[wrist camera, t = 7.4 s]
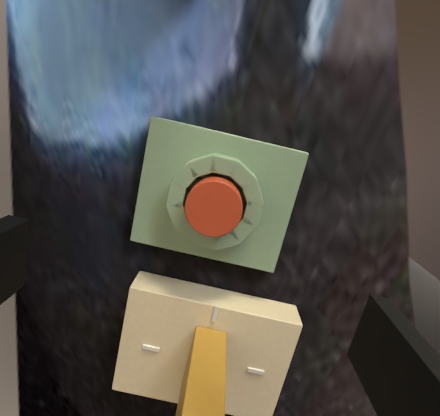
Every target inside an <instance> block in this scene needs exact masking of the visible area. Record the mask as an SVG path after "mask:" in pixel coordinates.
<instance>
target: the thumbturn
mask: <svg viewBox="0 0 440 416" xmlns="http://www.w3.org/2000/svg"><path fill="white" fill-rule="evenodd" d="M226 345H227V333H226V332H223V331H218V330H214V329H210V328H205V327H201V326H196V329H195V333H194V337H193V341H192V345H191V349H190V353H189V357H188V361H187V365H186V369H185V373H184V376H183V380H182V384H181V389H180V395H179V400H178V405H177V411H176V416H225V393H226Z"/></svg>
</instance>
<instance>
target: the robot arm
mask: <svg viewBox="0 0 440 416" xmlns="http://www.w3.org/2000/svg"><path fill="white" fill-rule="evenodd" d="M28 229H29V219H24V218H20V217H15V216H11V215H8V216H5V217H3V218H1V219H0V305H1V304H2V303H3V302H4V301H6V300H7V299H8V298H9V297H11V296H12V295H13V294H14V293H15V292H17V291H18V290H19V289H20V288H22V287H23V286H24V282H25V269H26V255H27V242H28ZM347 355H348V357H349V359H350V361H351V363H352V365H353V367H354V369H355V371H356V373H357V375H358V377H359V379H360V381H361V383H362V385H363V387H364V390H365V392H366V394H367V396H368V398H369V400H370V402H371V404H372V406H373V408H374V410H375V412H376V414H377V416H440V355H439V354H438V353H437V352H436V351H435V350H434V349H433V347H432V346H431V345H430V344H429V343H428V342H427V341H426V340H425V338H424V337H423V336H422V335H421V334H420V333H419V332H418V330H417V329H416V328H415V327H414V326H413V325H412V324H411V322H410V321H409V320H408V319H407V318H406V317H405V316H404V315H403V313H402V312H401V311H400V310H399V309H398V308H397V307H396V305H395V304H394V303H393V302H392V301H391V300H390V299H389V298H385V297H380V296H375V295H371V294H370V296H369V298H368V301H367V304H366V306H365V309H364V311H363V314H362V317H361V319H360V322H359V324H358V327H357V330H356V332H355V335H354V337H353V340H352V343H351V345H350V348H349V351H348V353H347Z"/></svg>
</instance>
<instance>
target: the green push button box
mask: <svg viewBox="0 0 440 416" xmlns="http://www.w3.org/2000/svg"><path fill="white" fill-rule="evenodd" d="M308 155H309V153H307V152H304V151H300V150H296V149H291V148H287V147H283V146H279V145H275V144H270V143H266V142H262V141H258V140H253V139H249V138H245V137H241V136H237V135H232V134H228V133H224V132H220V131H215V130H211V129H207V128H203V127H199V126H194V125H190V124H186V123H182V122H177V121H173V120H169V119H165V118H161V117H156V116H151V119H150V125H149V131H148V137H147V143H146V149H145V155H144V161H143V166H142V172H141V178H140V184H139V190H138V196H137V202H136V208H135V214H134V220H133V226H132V231H131V237H130V241H134V242H139V243H143V244H147V245H152V246H156V247H161V248H165V249H170V250H174V251H178V252H183V253H187V254H192V255H196V256H201V257H205V258H209V259H214V260H218V261H223V262H227V263H232V264H236V265H240V266H245V267H249V268H254V269H258V270H262V271H267V272H271V273H273V272H274V270H275V266H276V263H277V260H278V256H279V253H280V249H281V246H282V243H283V239H284V236H285V233H286V229H287V226H288V223H289V219H290V216H291V212H292V209H293V206H294V202H295V199H296V196H297V192H298V189H299V185H300V182H301V179H302V175H303V172H304V169H305V165H306V162H307V159H308ZM208 177H221V178H224V179H227V180H229V181H230V182H232V183H233V184H234V185H235V186H236V187H237V189H238V190H239V192H240V195H241V198H242V205H243V213H242V217H241V220H240V222H239V224H238V225H237V226H236V227H235V229H233V230H232V231H231V232H229V233H228V234H226V235H223V236H218V237H210V236H206V235H203V234H200V233H199V232H197V231H196V230H194V229H193V228H192V227H191V225H190V224H189V222H188V221H187V218H186V215H185V201H186V198H187V196H188V194H189V192H190V191H191V189H192V188H193V186H194V185H195V184H196V183H197V182H199V181H200V180H202V179H205V178H208Z"/></svg>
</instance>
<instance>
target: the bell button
mask: <svg viewBox="0 0 440 416" xmlns="http://www.w3.org/2000/svg"><path fill="white" fill-rule="evenodd" d="M242 213H243V205H242V198H241V195H240V192H239V190H238V189H237V187H236V186H235V185H234V184H233V183H232V182H230V181H229V180H227V179H224V178H221V177H208V178H205V179H202V180H200V181H199V182H197V183H196V184H195V185H194V186H193V188H192V189H191V191H190V192H189V194H188V196H187V198H186V201H185V215H186V218H187V221H188V222H189V224H190V225H191V227H192V228H193V229H194V230H196V231H197V232H199V233H200V234H203V235H206V236H210V237H218V236H223V235H226V234H228V233H229V232H231V231H232V230H233V229H235V227H236V226H237V225H238V224H239V222H240V220H241V217H242Z"/></svg>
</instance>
